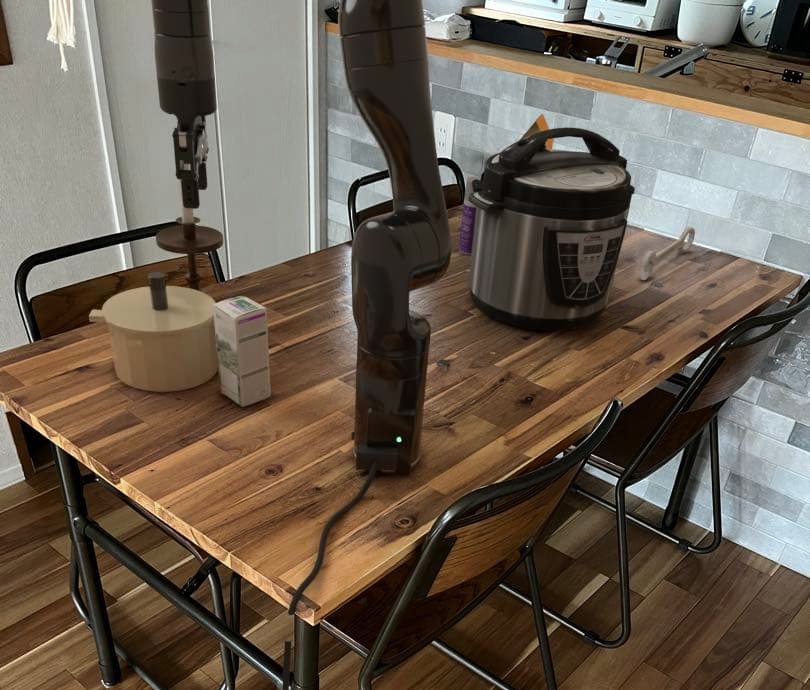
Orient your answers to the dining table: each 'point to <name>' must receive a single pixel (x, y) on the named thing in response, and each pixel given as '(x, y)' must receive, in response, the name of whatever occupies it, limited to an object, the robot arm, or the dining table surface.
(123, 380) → the pot
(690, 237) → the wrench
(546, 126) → the orange juice
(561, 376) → the dining table surface
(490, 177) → the pressure cooker
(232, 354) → the syrup box
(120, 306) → the lid
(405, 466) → the robot arm
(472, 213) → the container
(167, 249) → the candlestick
